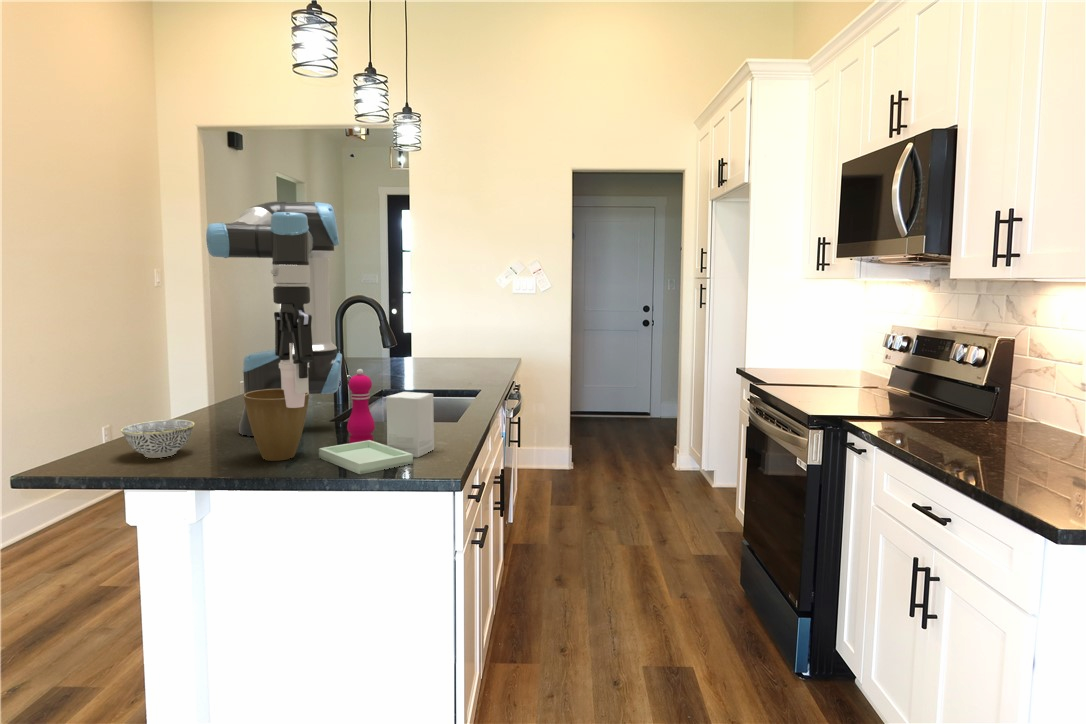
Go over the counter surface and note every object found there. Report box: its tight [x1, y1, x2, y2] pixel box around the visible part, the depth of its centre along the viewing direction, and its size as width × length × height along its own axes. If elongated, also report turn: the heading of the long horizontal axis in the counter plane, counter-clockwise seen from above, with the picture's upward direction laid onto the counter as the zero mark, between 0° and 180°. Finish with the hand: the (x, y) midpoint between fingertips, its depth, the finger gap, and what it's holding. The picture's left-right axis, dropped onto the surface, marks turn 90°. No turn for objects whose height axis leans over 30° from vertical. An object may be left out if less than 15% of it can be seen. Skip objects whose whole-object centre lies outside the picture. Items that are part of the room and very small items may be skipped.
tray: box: [318, 440, 414, 475], centre depth 173 cm, size 20×14×2 cm
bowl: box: [120, 419, 196, 458], centre depth 176 cm, size 16×16×8 cm
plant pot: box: [243, 389, 310, 462], centre depth 175 cm, size 15×15×16 cm
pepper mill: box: [346, 368, 376, 444], centre depth 191 cm, size 7×7×20 cm
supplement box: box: [385, 391, 435, 458], centre depth 181 cm, size 9×9×15 cm
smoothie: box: [279, 343, 309, 408], centre depth 157 cm, size 6×6×14 cm
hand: (294, 390), depth 158 cm, fingers closed on smoothie, 6 cm apart
